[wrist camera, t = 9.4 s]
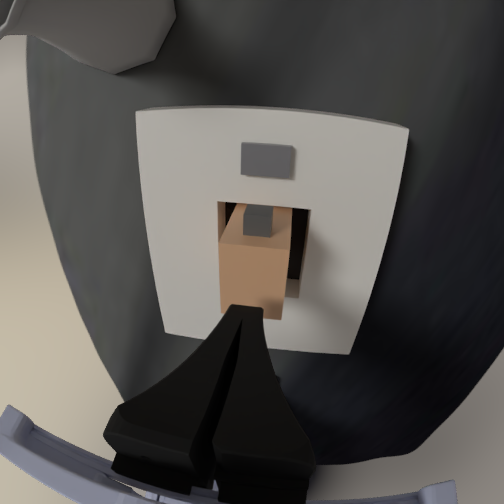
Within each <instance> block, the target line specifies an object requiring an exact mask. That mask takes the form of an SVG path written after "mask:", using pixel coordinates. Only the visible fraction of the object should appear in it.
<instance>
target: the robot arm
mask: <svg viewBox="0 0 504 504" xmlns="http://www.w3.org/2000/svg"><path fill="white" fill-rule="evenodd" d="M263 314H264V309H263V308H262V307H254V306H245V305H237V304H231V305H230V306H229V307H228V309H227V311H226V312H225V314H224V315H223V317H222V318H221V320H220V321H219V322H218V324H217V325H216V327H215V328H214V329H213V330H212V332H211V333H210V334H209V335H208V337H207V338H206V339H205V340H204V341H203V342H202V343H201V345H200V346H199V347H198V348H197V349H196V350H195V351H194V352H193V353H192V354H191V355H190V356H189V357H188V358H187V359H186V360H185V361H184V362H183V363H182V364H181V365H180V366H178V367H177V368H176V369H175V370H174V371H172V372H171V373H170V374H169V375H167V376H166V377H165V378H163V379H162V380H161V381H159V382H158V383H156V384H155V385H153V386H152V387H150V388H149V389H147V390H146V391H144V392H142V393H141V394H139V395H137V396H135V397H133V398H132V399H130V400H128V401H126V402H124V403H122V404H120V405H118V406H117V408H116V409H115V411H114V413H113V414H112V416H111V417H110V420H109V422H108V424H107V426H106V428H105V430H104V433H103V437H104V439H105V440H106V442H108V444H109V445H110V446H111V447H112V448H113V449H114V450H115V451H116V452H117V453H116V456H115V458H114V461H113V462H112V461H110V460H107V459H104V458H102V457H100V456H97V455H95V454H93V453H90V452H88V451H86V450H84V449H81V448H79V447H77V446H75V445H73V444H71V443H69V442H66V441H65V440H63V439H61V438H59V437H57V436H55V435H53V434H51V433H49V432H47V431H46V430H43V429H42V428H40V427H38V426H37V425H35V424H34V423H33V422H32V421H31V419H30V418H28V417H27V416H26V415H25V414H23V413H22V412H20V411H19V410H17V409H15V408H14V407H12V406H11V405H7V407H6V409H5V410H4V412H3V414H2V416H1V417H0V454H1V455H2V456H4V457H5V458H7V459H8V460H9V461H10V462H12V463H13V464H15V465H16V466H17V467H19V468H20V469H22V470H23V471H25V472H26V473H28V474H29V475H30V476H32V477H33V478H35V479H37V480H38V481H40V482H41V483H43V484H44V485H46V486H48V487H49V488H51V489H53V490H54V491H56V492H58V493H60V494H62V495H63V496H65V497H67V498H69V499H71V500H72V501H75V502H76V503H79V504H458V503H457V493H456V485H455V481H454V480H449V481H445V482H441V483H436V484H432V485H429V486H426V487H424V488H422V489H420V490H419V491H418V492H412V493H407V494H400V495H393V496H385V497H377V498H365V499H351V500H306V495H307V490H308V487H309V478H310V477H311V476H312V475H313V474H314V472H315V469H316V462H315V456H314V452H313V449H312V445H311V442H310V439H309V438H308V436H307V435H306V433H305V432H304V430H303V429H302V427H301V426H300V424H299V422H298V421H297V419H296V417H295V416H294V414H293V412H292V410H291V408H290V406H289V404H288V402H287V400H286V398H285V396H284V394H283V392H282V390H281V387H280V385H279V383H278V380H277V377H276V375H275V372H274V369H273V366H272V363H271V359H270V356H269V352H268V348H267V343H266V339H265V333H264V325H263ZM113 479H114V480H113ZM115 480H117V481H119V482H117V481H115ZM120 482H122V483H124V484H127V485H130V486H133V487H136V488H139V489H142V490H145V491H146V496H145V497H142V496H141V495H139V494H137V493H136V492H135V491H133V489H132V488H131V487H128V486H126V485H124V484H122V483H120Z"/></svg>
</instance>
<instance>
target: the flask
mask: <svg viewBox="0 0 504 504" xmlns="http://www.w3.org/2000/svg"><path fill="white" fill-rule="evenodd" d="M175 19H176V12H175V6H174V0H0V39H2V38H3V37H4V36H6V35H29V36H34V37H38V38H39V39H41V40H43V41H45V42H47V43H49V44H51V45H53V46H55V47H56V48H58V49H60V50H62V51H63V52H65V53H66V54H68V55H69V56H71V57H72V58H74V59H75V60H77V61H79V62H80V63H82V64H85V65H88V66H91V67H94V68H97V69H100V70H102V71H105V72H108V73H111V74H113V75H114V74H117V73H119V72H122V71H125V70H127V69H130V68H133V67H135V66H138V65H141V64H144V63H147V62H150V61H153V60H155V58H156V56H157V54H158V52H159V50H160V48H161V46H162V44H163V42H164V40H165V38H166V36H167V34H168V32H169V30H170V28H171V26H172V24H173V22H174V20H175Z"/></svg>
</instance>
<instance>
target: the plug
mask: <svg viewBox="0 0 504 504" xmlns="http://www.w3.org/2000/svg"><path fill="white" fill-rule="evenodd" d="M291 223H292V207H281V206H270V205H259V204H247V203H237V205H236V207H235V209H234V211H233V213H232V215H231V217H230V220H229V222H228V224H227V226H226V228H225V230H224V232H223V234H222V236H221V239H220V241H219V243H218V248H219V279H220V304H221V313H223V314H225V312H226V311H227V309H228V307H229V306H230V305H231V304H237V305H245V306H254V307H262V308H263V309H264V314H263V318H264V319H273V320H281V319H282V311H283V304H284V296H285V288H286V280H287V271H288V263H289V254H290V241H291Z"/></svg>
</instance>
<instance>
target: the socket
mask: <svg viewBox="0 0 504 504" xmlns="http://www.w3.org/2000/svg"><path fill="white" fill-rule="evenodd" d="M136 130H137V145H138V158H139V170H140V180H141V189H142V198H143V206H144V214H145V222H146V229H147V236H148V243H149V249H150V255H151V261H152V267H153V273H154V278H155V284H156V289H157V294H158V299H159V304H160V309H161V314H162V319H163V323H164V328H165V332H166V333H170V334H176V335H181V336H187V337H193V338H199V339H206V338H207V337H208V335H209V334H210V333H211V332H212V330H213V329H214V328H215V327H216V325H217V324H218V322H219V321H220V320H221V318H222V317H223V315H224V314H223V313H221V304H220V279H219V248H218V243H219V241H220V239H221V236H222V234H223V232H224V230H225V228H226V222H225V202H234V203H247V204H259V205H270V206H281V207H292V208H302V209H309V210H308V218H307V226H306V234H305V242H304V249H303V256H302V263H301V270H300V277H299V280H297V279H287V280H286V288H285V296H284V304H283V311H282V319H281V320H273V319H264V318H263V325H264V333H265V339H266V343H267V348H273V349H283V350H293V351H305V352H318V353H332V354H349V353H350V351H351V348H352V345H353V343H354V340H355V338H356V335H357V332H358V329H359V327H360V324H361V321H362V318H363V315H364V313H365V310H366V307H367V304H368V301H369V298H370V295H371V292H372V288H373V285H374V282H375V279H376V276H377V272H378V269H379V265H380V262H381V258H382V255H383V251H384V248H385V244H386V240H387V236H388V233H389V229H390V225H391V221H392V216H393V212H394V208H395V203H396V199H397V194H398V190H399V185H400V180H401V175H402V169H403V164H404V158H405V153H406V146H407V140H408V133H409V129H407V128H405V127H403V126H401V125H399V124H395V123H391V122H386V121H380V120H375V119H369V118H364V117H358V116H351V115H344V114H337V113H330V112H322V111H313V110H303V109H292V108H279V107H263V106H235V105H198V106H171V107H155V108H148V109H144V110H140V111H136Z"/></svg>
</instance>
